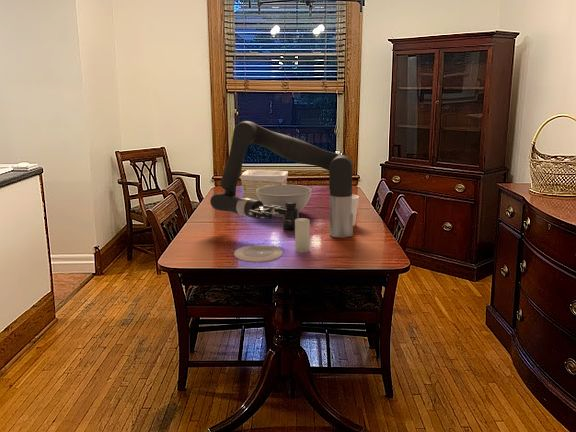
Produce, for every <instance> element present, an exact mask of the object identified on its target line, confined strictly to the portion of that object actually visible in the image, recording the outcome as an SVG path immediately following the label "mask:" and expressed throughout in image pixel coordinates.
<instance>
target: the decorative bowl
mask: <svg viewBox="0 0 576 432" xmlns="http://www.w3.org/2000/svg"><path fill="white" fill-rule="evenodd" d="M312 192H313V189H312V188H311V187H308V186H306V185H299V184H287V185H270V186H264V187H260V188H258V189H257V190H256V194H257V197H258V199H259V201H261V202H262V203H263V205H268V206H270V205H271V204H272V205H277V206H282V209H284V208H286V207H285V202H287V201H294V202H296V208H297V209H298V212H300V211H301V210H303V209H304V207H306V206H307V203H309V200H310V198H311V195H312ZM271 213H273V211H271ZM273 217H277V218H283V215H282V214H274V215H273Z"/></svg>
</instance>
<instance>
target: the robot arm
mask: <svg viewBox="0 0 576 432" xmlns="http://www.w3.org/2000/svg"><path fill="white" fill-rule="evenodd" d="M250 144H252V145H255V146H256V145H257V146H260V147H264V148H266V149H268V150H269V151H271V152H273V153H274V154H276V155H277V156H279V157H282V158H283V159H287V160H289V161H291V162H293V163H298V164H302V165H309V166H316V167H318V168H321V169H324V170H326V171H328V174H329V175H328V177H329V178H328V180H329V181H328V183H329V184H328V187H329V235H330V237H333V238H350V237H353V236H354V235H353V232H354V230H353V229H354V226H353V214H352V195H353V170H354V163H353V160H352V159H351V158H350V157H349V156H347V155H344V154H341V153H336V152H332V151H328V150H325V149H323V148H320V147H318V146H316V145H313V144H311V143H309V142H306V141H304V140H302V139H300V138H296V137H292V136H289V135H287V134H283V133H279V132H275V131H272V130H269V129H267V128H265V127H263V126H261V125H259V124H257V123H255V122H254V121H249V120H244V121H241V122H239V123H237V124H236V125H235V126H234V128H233V133H232V139H231V145H230V150H229V155H228V158H227V162H226V164H225V168H224V169H223V174H222V176H221V178H220V179H221V180H220V182H219V186H220V188H222V189H223V190H224V193H215V194H213V195H212V196H211V198H210V201H209V202H210V205H211V207H212V208H213V210H216V211H221V212H228V213H229V212H230V213H232V214H236V215H237V214H238V215H241V216H244V217H247V218H252V219H257V220H260V219H264V218H265V219H269V220H272V219H273V217H274V216H273V215H274V214H282V215H287V210H286V209H282V206H277V205H272V204H271V205H270V206H268V205H263V203H262V202H261V201H259V200H255V199H250V198H243V196H242V197H241V196H237V195H236V194H237V193H236V192H237V185H238V183H239V180H240V178H241V175H242V174H241V173H242V168H243V164H244V163H243V162H244V158H245V155H246V152H247V150H248V148H249V145H250ZM271 211H273V213H271Z"/></svg>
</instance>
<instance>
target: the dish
mask: <svg viewBox="0 0 576 432" xmlns="http://www.w3.org/2000/svg"><path fill="white" fill-rule="evenodd" d="M233 255H234V257H235V258H236V259H238V260H239V261H245V262H252V263H253V262H254V263H256V262H257V263H261V262H262V263H263V262H264V263H265V262H271V261H273V260H276V259H279V258H281V257H282V256H283V249H281V248H279V247H277V246H273V245H268V244H256V245H255V244H253V245H247V246H242V247H239V248H237V249H236V250H235V251H234V254H233Z"/></svg>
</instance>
